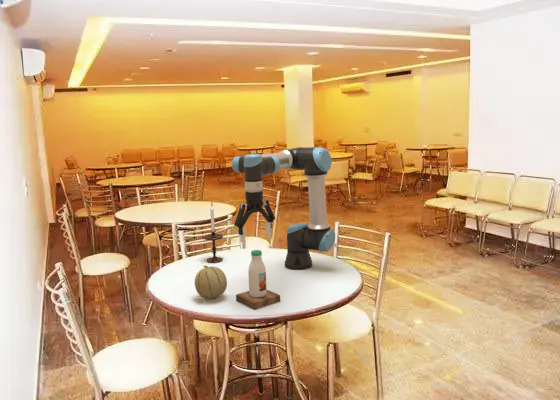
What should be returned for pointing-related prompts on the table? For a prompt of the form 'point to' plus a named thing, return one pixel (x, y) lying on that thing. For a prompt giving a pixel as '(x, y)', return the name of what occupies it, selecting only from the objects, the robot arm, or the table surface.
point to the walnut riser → (257, 299)
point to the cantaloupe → (210, 282)
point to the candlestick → (213, 239)
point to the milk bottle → (257, 275)
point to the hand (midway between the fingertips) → (255, 239)
